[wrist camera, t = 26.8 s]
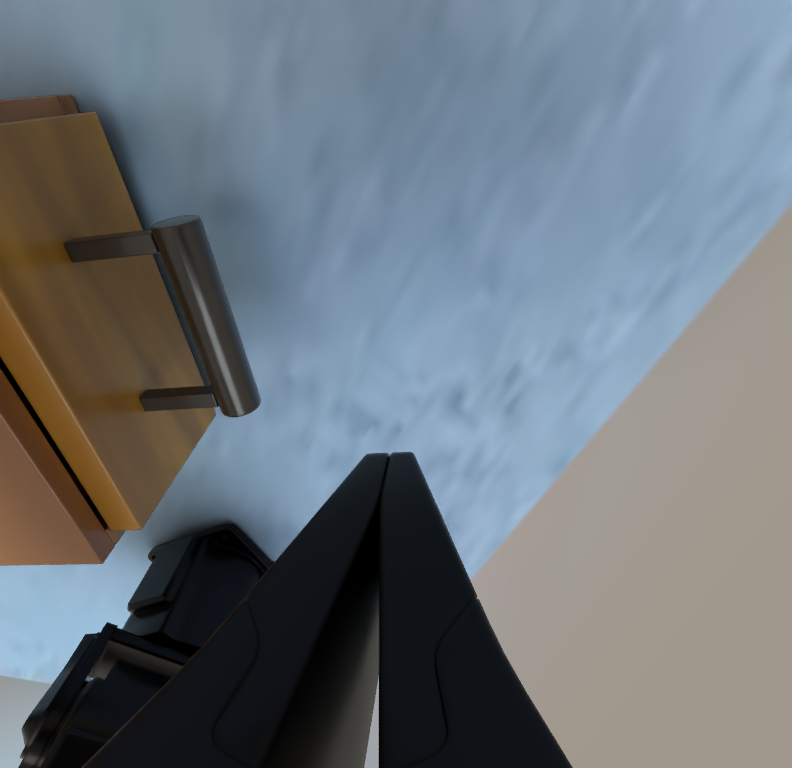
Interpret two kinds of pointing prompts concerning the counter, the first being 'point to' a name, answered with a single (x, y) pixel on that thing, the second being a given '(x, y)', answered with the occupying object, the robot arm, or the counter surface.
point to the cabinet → (42, 453)
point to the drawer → (109, 318)
